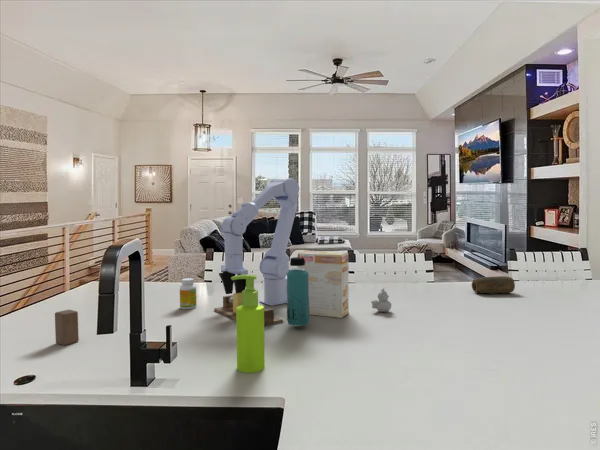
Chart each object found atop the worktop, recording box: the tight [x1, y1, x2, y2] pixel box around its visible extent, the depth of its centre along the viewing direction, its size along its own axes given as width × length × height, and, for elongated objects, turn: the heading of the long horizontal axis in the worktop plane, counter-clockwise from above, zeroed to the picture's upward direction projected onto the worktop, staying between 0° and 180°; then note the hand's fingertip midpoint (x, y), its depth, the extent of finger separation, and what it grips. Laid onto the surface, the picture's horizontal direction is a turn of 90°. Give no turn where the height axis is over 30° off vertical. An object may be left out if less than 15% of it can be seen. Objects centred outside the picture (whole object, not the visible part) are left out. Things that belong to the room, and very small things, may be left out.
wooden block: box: [54, 309, 80, 346], centre depth 110 cm, size 4×4×8 cm
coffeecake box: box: [297, 250, 350, 319], centre depth 138 cm, size 15×7×20 cm, turn 65°
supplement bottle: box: [179, 277, 197, 310], centre depth 146 cm, size 5×5×10 cm
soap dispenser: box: [231, 274, 266, 374], centre depth 92 cm, size 6×7×20 cm
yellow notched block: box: [232, 292, 242, 313], centre depth 136 cm, size 3×6×6 cm, turn 127°
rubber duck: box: [371, 287, 392, 313], centre depth 140 cm, size 5×7×8 cm
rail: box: [213, 294, 284, 327], centre depth 135 cm, size 25×10×4 cm, turn 37°
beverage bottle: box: [286, 256, 310, 327], centre depth 122 cm, size 6×7×20 cm
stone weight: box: [471, 275, 516, 295], centre depth 167 cm, size 15×7×7 cm, turn 96°
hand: (234, 295), depth 141 cm, fingers open, 7 cm apart
